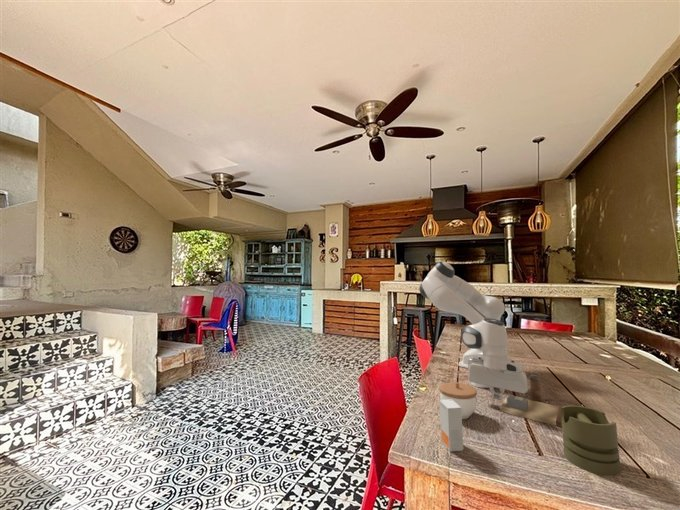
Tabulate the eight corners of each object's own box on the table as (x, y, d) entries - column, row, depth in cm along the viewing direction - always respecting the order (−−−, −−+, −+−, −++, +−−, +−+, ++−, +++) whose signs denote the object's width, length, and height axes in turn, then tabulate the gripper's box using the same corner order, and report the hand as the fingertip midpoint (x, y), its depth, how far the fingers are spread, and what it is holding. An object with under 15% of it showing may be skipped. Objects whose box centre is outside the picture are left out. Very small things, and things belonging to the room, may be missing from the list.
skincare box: (440, 440, 87) (438, 399, 88) (453, 439, 88) (452, 398, 89) (449, 452, 81) (447, 408, 82) (464, 451, 82) (462, 407, 82)
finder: (507, 406, 106) (506, 397, 106) (509, 403, 109) (509, 394, 109) (526, 411, 102) (525, 401, 102) (528, 407, 105) (527, 398, 105)
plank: (500, 411, 105) (500, 406, 105) (508, 398, 116) (508, 395, 116) (586, 433, 90) (585, 428, 90) (586, 416, 100) (585, 412, 100)
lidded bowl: (461, 426, 95) (459, 392, 96) (432, 411, 106) (431, 380, 107) (485, 417, 101) (484, 385, 102) (456, 404, 112) (455, 374, 113)
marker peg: (530, 401, 114) (528, 376, 114) (531, 398, 116) (530, 373, 117) (541, 403, 111) (539, 378, 112) (542, 400, 114) (541, 375, 115)
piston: (603, 408, 81) (625, 428, 70) (606, 453, 80) (630, 480, 69) (554, 403, 85) (569, 421, 74) (557, 445, 84) (573, 470, 73)
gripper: (465, 359, 115) (466, 394, 114) (524, 368, 102) (527, 409, 101) (469, 355, 120) (471, 389, 119) (527, 364, 107) (530, 403, 105)
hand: (497, 399), depth 110 cm, fingers closed
